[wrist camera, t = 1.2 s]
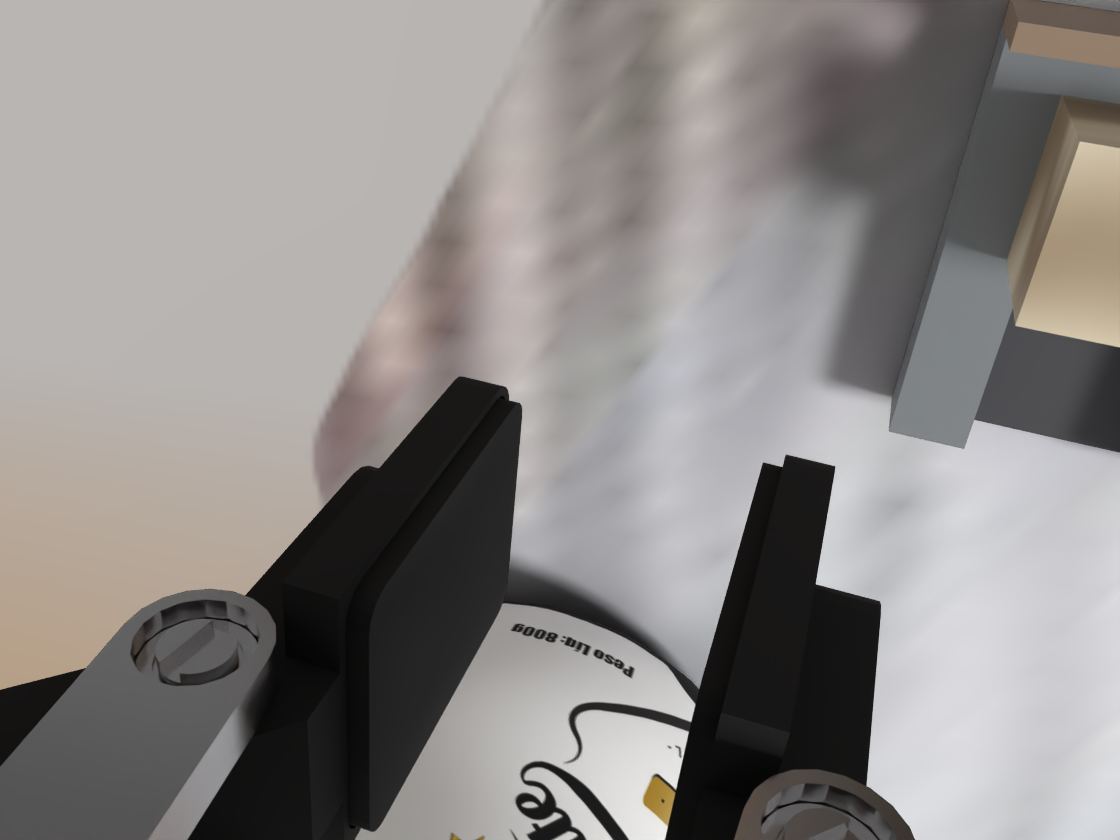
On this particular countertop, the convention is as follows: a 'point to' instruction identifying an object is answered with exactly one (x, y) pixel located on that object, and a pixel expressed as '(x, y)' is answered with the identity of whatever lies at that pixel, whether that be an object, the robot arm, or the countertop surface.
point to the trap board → (983, 247)
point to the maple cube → (1072, 229)
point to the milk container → (550, 739)
